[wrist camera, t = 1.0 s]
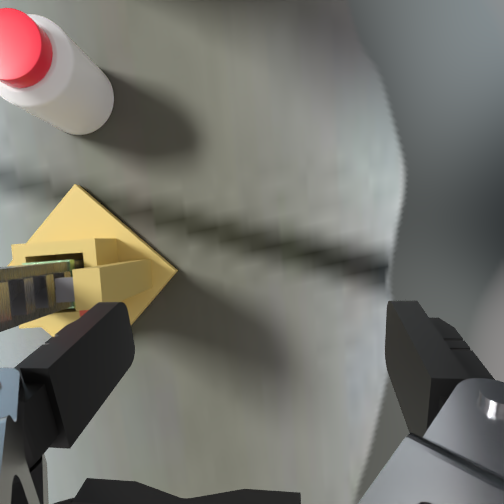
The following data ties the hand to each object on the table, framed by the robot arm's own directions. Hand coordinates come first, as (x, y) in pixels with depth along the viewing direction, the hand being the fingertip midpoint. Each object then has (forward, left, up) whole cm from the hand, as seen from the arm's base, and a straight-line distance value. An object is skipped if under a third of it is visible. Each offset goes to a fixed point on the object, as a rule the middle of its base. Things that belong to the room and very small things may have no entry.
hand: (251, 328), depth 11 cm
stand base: (-13, -13, -28) cm, 34 cm away
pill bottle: (-26, +1, -28) cm, 39 cm away
